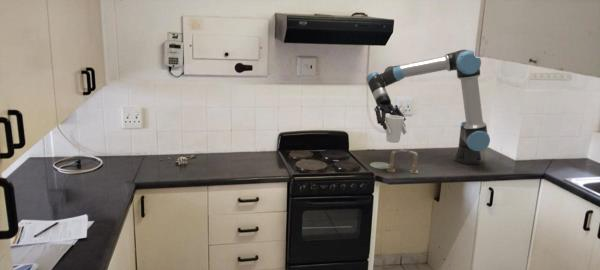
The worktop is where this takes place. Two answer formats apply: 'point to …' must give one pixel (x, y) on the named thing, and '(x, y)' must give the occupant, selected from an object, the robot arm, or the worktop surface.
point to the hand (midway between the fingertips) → (397, 133)
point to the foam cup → (394, 127)
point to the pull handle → (413, 161)
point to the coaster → (380, 165)
